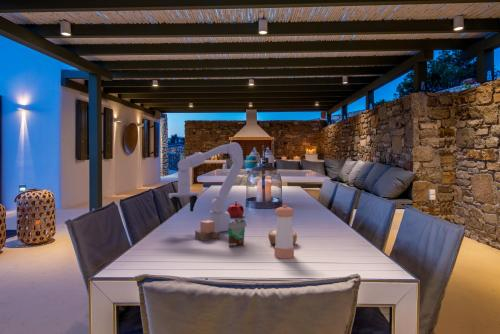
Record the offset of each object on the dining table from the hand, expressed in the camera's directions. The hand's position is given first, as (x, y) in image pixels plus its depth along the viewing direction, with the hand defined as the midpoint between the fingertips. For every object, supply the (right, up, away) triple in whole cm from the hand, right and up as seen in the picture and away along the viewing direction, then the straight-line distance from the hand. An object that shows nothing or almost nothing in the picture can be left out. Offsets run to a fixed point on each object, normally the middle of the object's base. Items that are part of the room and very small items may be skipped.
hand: (184, 211), depth 186 cm
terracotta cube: (+13, -7, -14) cm, 21 cm away
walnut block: (+13, -11, -14) cm, 22 cm away
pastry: (+46, -11, -23) cm, 52 cm away
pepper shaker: (+45, -12, -42) cm, 62 cm away
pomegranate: (+23, -8, +42) cm, 49 cm away
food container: (+27, -11, -25) cm, 39 cm away
